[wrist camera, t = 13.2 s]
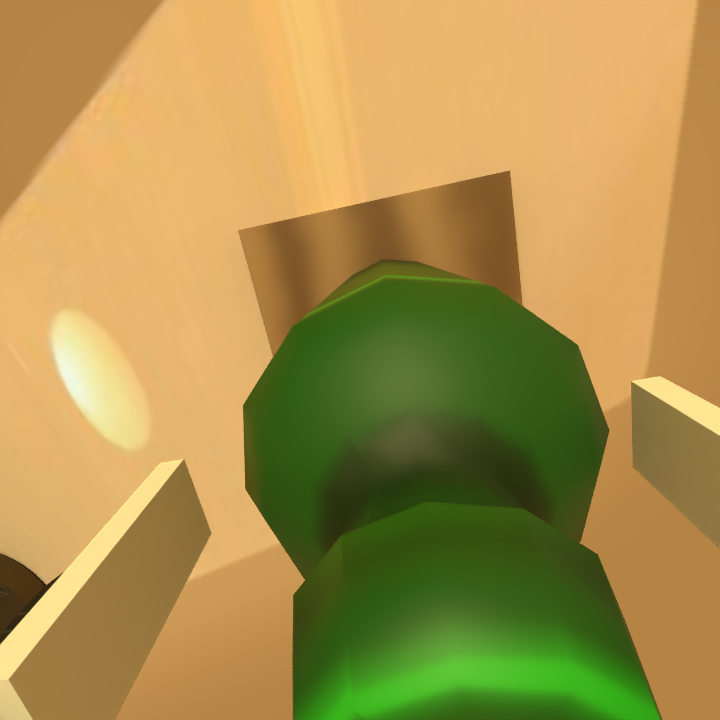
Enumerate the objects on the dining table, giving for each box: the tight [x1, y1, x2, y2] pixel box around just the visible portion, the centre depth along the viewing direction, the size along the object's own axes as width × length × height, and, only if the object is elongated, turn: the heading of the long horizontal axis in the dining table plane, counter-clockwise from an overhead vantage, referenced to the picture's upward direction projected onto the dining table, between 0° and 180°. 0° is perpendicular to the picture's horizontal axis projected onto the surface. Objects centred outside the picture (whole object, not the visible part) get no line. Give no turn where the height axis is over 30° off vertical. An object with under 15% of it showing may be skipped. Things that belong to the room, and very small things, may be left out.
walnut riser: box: [238, 171, 522, 357], centre depth 32 cm, size 18×16×3 cm
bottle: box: [243, 259, 662, 720], centre depth 17 cm, size 11×11×28 cm
